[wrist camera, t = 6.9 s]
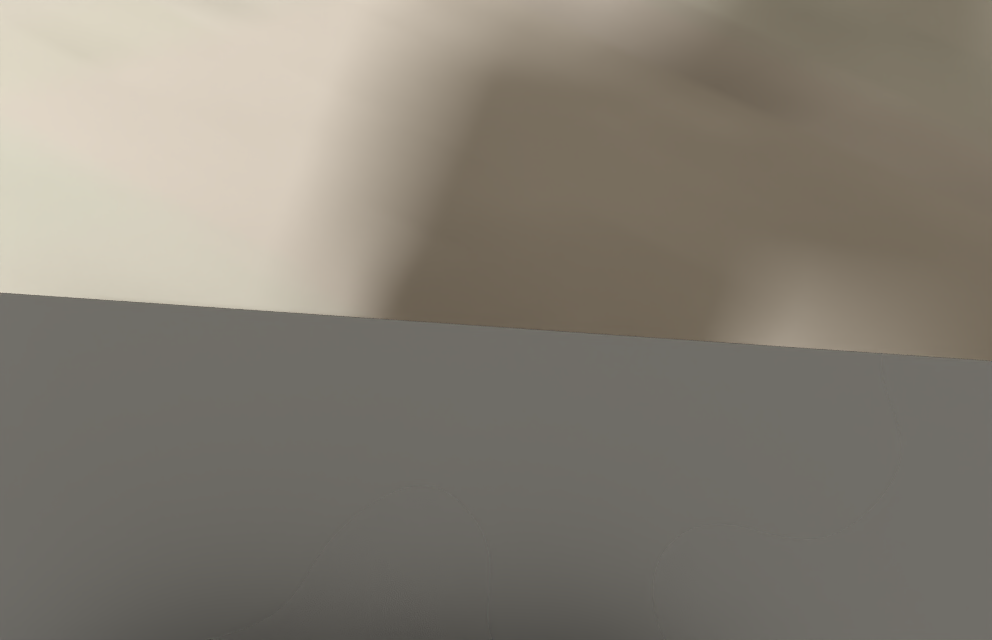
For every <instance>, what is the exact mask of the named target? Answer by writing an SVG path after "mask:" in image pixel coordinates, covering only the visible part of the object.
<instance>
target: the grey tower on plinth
mask: <svg viewBox="0 0 992 640" xmlns="http://www.w3.org/2000/svg"><path fill="white" fill-rule="evenodd" d="M0 640H992V361H984V360H970V359H955V358H941V357H926V356H912V355H897V354H883V353H868V352H854V351H839V350H825V349H810V348H796V347H781V346H767V345H752V344H737V343H723V342H708V341H694V340H679V339H665V338H650V337H636V336H621V335H607V334H592V333H578V332H563V331H549V330H534V329H520V328H505V327H491V326H476V325H461V324H447V323H432V322H418V321H403V320H389V319H374V318H360V317H345V316H331V315H316V314H302V313H287V312H273V311H258V310H244V309H229V308H215V307H200V306H185V305H171V304H156V303H142V302H127V301H113V300H98V299H84V298H69V297H55V296H40V295H26V294H11V293H0Z"/></svg>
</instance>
